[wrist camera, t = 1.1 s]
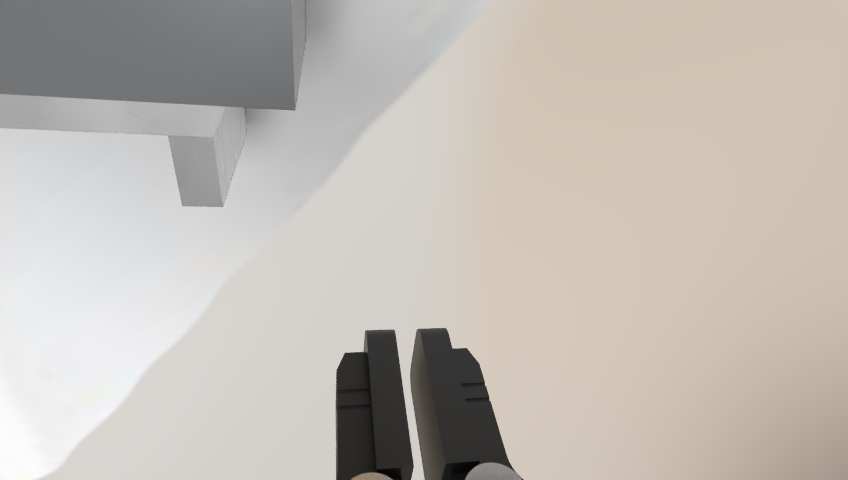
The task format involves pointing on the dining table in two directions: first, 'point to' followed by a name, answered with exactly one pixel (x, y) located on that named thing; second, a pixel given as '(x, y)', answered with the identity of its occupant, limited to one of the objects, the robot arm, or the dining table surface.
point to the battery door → (184, 124)
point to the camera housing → (155, 50)
